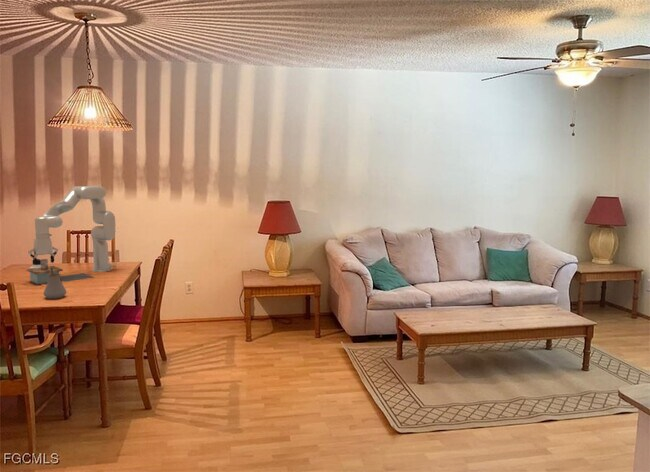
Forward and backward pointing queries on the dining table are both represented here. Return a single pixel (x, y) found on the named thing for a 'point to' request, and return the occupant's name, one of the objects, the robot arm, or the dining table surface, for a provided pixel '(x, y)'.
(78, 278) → the rubber mat
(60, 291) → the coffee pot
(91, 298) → the dining table surface
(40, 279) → the grey ceramic box
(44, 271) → the walnut lid
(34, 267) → the medicine bottle
